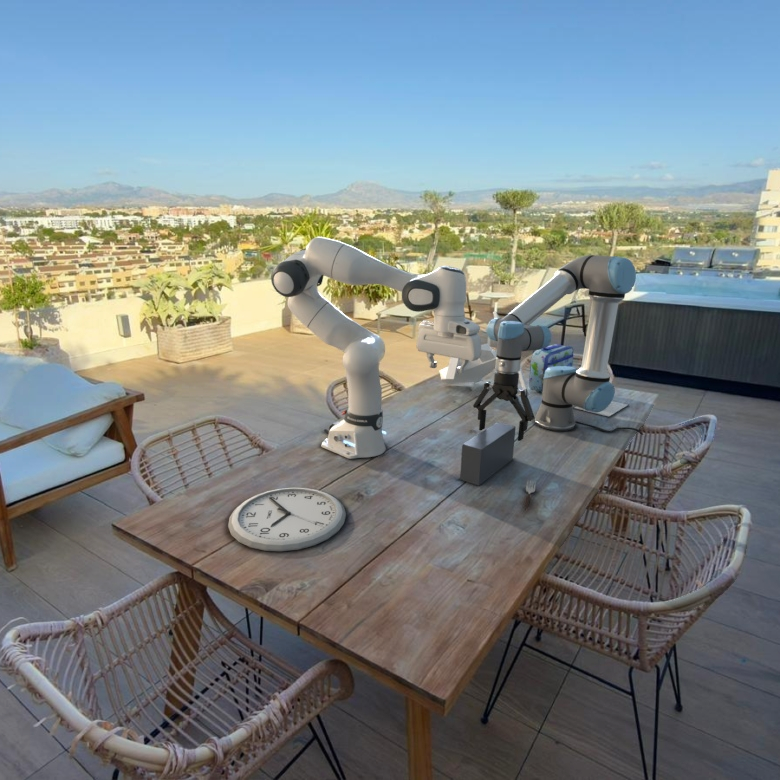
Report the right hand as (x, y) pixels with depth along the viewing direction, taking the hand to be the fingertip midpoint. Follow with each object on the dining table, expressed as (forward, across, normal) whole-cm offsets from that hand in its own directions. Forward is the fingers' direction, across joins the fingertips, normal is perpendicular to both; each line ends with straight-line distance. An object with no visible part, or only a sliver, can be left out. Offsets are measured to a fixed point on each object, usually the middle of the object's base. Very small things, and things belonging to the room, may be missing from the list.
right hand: (500, 434), depth 170 cm
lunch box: (+8, -16, +89) cm, 91 cm away
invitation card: (+8, +11, +78) cm, 80 cm away
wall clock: (+10, -27, -67) cm, 73 cm away
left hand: (-23, -11, -18) cm, 31 cm away
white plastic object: (+8, -40, +63) cm, 75 cm away
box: (+9, 0, -8) cm, 12 cm away
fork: (+9, +18, -18) cm, 27 cm away
